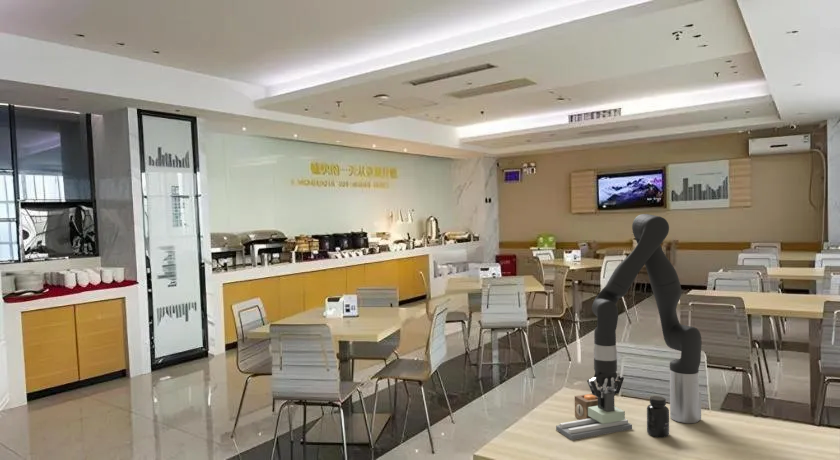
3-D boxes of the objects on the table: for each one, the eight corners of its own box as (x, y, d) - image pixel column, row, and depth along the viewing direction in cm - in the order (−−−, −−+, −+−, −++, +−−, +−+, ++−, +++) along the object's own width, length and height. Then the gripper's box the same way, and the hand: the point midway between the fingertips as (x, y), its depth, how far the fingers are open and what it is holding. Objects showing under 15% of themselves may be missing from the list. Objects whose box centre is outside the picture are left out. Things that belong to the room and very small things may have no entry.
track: (614, 419, 195) (614, 412, 195) (632, 429, 186) (632, 421, 186) (556, 429, 187) (556, 422, 187) (571, 440, 178) (571, 431, 178)
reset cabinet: (593, 413, 201) (593, 393, 201) (605, 420, 195) (605, 399, 194) (573, 416, 198) (573, 396, 198) (585, 423, 192) (585, 402, 192)
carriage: (609, 412, 193) (609, 386, 193) (624, 419, 186) (624, 393, 185) (587, 415, 190) (587, 390, 190) (602, 423, 183) (602, 397, 182)
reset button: (591, 404, 199) (591, 393, 199) (597, 408, 195) (597, 397, 195) (582, 406, 198) (582, 395, 198) (588, 409, 194) (588, 398, 194)
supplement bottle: (671, 438, 178) (671, 402, 177) (649, 437, 179) (648, 401, 179) (666, 430, 184) (666, 395, 184) (645, 429, 186) (644, 394, 185)
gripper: (615, 352, 193) (615, 400, 194) (581, 356, 189) (581, 406, 189) (629, 357, 186) (630, 407, 187) (594, 362, 182) (595, 413, 182)
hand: (606, 406), depth 188 cm, fingers closed on carriage, 3 cm apart
